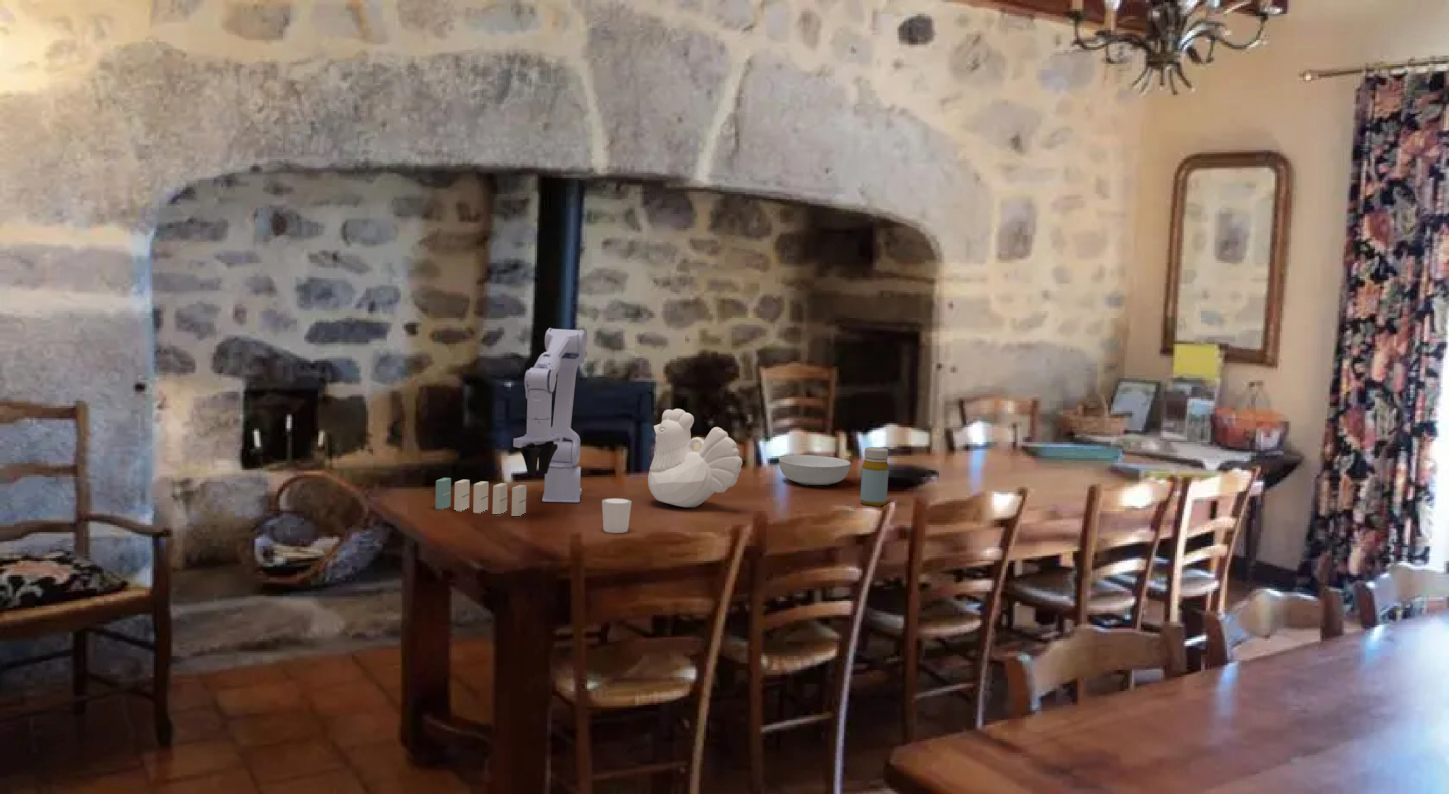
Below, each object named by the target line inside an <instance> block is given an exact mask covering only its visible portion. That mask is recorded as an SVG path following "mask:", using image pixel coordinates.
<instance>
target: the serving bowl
mask: <svg viewBox="0 0 1449 794" xmlns="http://www.w3.org/2000/svg"><path fill="white" fill-rule="evenodd" d="M778 463H779V464H778V465H779V469H780V472H781V473H782V474H783V475H784V476H785V478H787V479H788V480H790V481H793V482H795V483H798V484H800V485H802V486H808V485H826V486H829V485H832V484H837V483H839V482H841V481H843V480H844V479H845V478H846V477H847V476H848V474H849V472H850V468H851V464H852V463H851V462H850V461H849V460H846V459H843V458H839V457H832V456H822V455H811V454H810V455H806V454H803V455H802V454H801V455H800V454H795V455H784V456H780V457H779V459H778Z"/></svg>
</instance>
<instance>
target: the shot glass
mask: <svg viewBox="0 0 1449 794" xmlns="http://www.w3.org/2000/svg"><path fill="white" fill-rule="evenodd" d="M601 506H602V507H601V508H602V510H601V511H602V524H603V527H602V528H603V531H604V532H606V533H611V534H612V533H613V534H620V533H621V534H623V533H627V532H628V531H629V524H630V516H631V510H632V500H630V499H627V498H619V497H617V498H616V497H613V498H612V497H611V498H604V499H602V500H601Z"/></svg>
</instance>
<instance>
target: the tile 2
mask: <svg viewBox="0 0 1449 794" xmlns="http://www.w3.org/2000/svg"><path fill="white" fill-rule="evenodd" d="M470 484H471V483H470V479H461V480H458V481H455V482H454V498H453V500H454V501H453V502H454V508H453V511H454V510H456V511H455V512H463V511H466V510H467V508H468V509H469V508H470ZM465 509H466V510H465ZM462 510H463V511H462Z"/></svg>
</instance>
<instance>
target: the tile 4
mask: <svg viewBox="0 0 1449 794" xmlns="http://www.w3.org/2000/svg"><path fill="white" fill-rule="evenodd" d="M508 485H509V484H508V483H505V482H500V483H497V484H495V485H493V486H492V487H493V488H492V512H491V513H492V514H501V513H503V514H505V513H507V512H508ZM506 511H507V512H506ZM504 512H505V513H504ZM501 515H502V514H501Z"/></svg>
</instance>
